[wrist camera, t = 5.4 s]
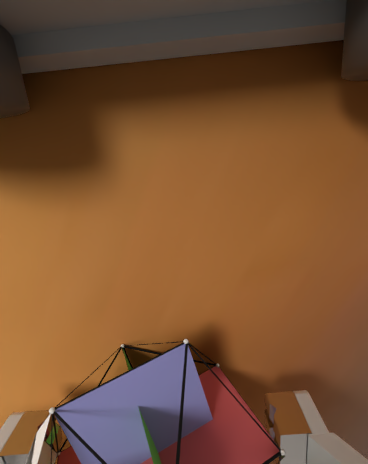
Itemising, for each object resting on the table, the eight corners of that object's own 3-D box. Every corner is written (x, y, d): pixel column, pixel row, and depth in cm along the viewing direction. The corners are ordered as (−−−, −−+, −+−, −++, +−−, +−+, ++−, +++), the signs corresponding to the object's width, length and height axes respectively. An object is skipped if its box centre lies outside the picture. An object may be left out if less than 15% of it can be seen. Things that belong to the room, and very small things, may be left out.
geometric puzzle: (289, 308, 9) (63, 735, 3) (319, 459, 11) (214, 893, 5) (137, 287, 13) (-67, 443, 8) (177, 395, 15) (38, 584, 10)
